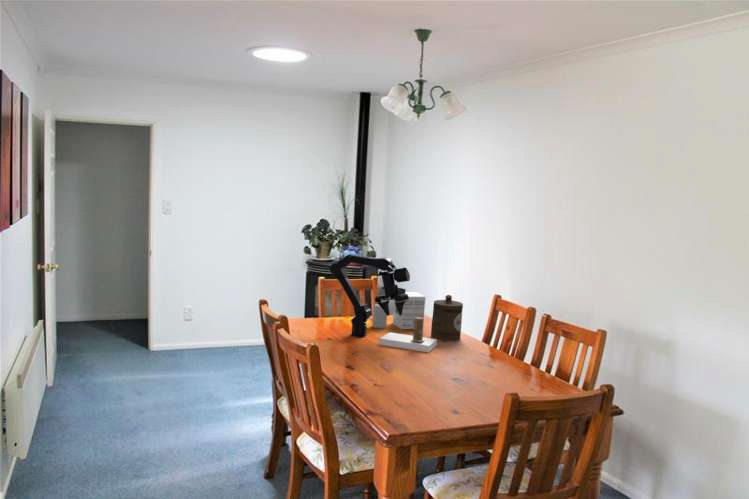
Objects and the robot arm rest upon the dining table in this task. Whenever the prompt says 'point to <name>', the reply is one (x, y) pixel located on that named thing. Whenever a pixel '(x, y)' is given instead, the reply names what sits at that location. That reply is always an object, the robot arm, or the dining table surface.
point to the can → (379, 317)
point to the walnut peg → (418, 329)
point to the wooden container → (446, 319)
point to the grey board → (407, 342)
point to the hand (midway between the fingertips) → (394, 315)
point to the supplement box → (409, 311)
